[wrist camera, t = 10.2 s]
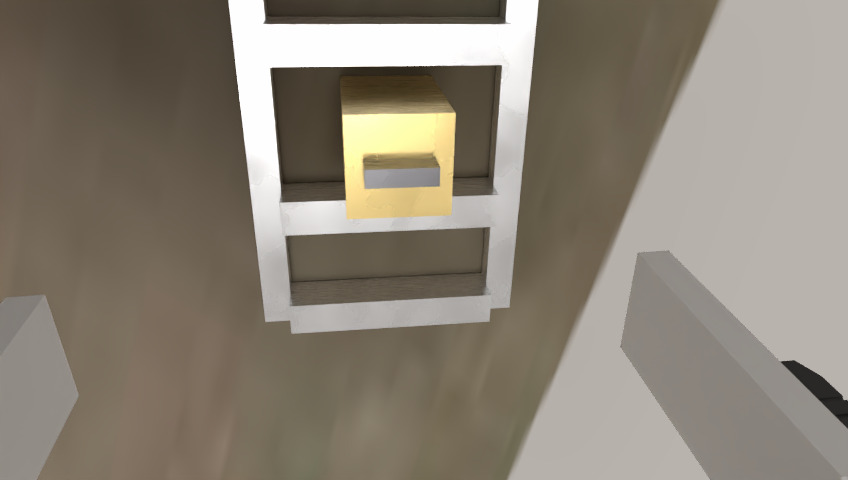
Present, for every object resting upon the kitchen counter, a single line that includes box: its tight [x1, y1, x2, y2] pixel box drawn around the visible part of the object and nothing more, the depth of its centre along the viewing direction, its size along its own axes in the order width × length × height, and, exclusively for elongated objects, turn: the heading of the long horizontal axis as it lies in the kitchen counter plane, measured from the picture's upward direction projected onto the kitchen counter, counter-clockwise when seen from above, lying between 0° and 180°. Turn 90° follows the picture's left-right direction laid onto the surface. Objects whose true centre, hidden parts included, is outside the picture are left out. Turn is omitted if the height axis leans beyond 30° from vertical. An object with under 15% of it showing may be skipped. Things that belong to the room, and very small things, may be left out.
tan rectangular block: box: [340, 75, 456, 219], centre depth 28 cm, size 4×4×8 cm
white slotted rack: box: [228, 0, 538, 334], centre depth 31 cm, size 22×14×2 cm, turn 179°
